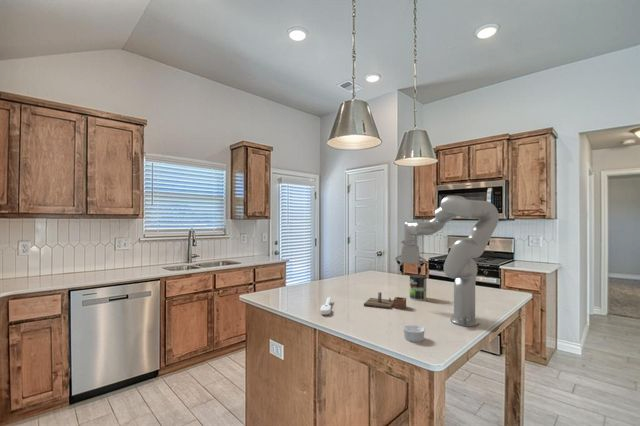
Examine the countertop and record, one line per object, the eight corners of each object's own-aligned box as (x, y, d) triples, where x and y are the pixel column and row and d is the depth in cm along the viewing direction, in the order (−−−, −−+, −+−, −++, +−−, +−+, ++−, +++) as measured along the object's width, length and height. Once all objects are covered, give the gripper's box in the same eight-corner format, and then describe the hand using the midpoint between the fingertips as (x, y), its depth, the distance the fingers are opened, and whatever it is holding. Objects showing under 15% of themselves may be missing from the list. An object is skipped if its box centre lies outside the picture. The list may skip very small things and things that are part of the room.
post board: (390, 309, 177) (390, 297, 178) (363, 306, 183) (363, 294, 183) (395, 302, 191) (395, 291, 191) (370, 299, 197) (370, 288, 197)
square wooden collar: (404, 309, 177) (404, 300, 177) (393, 308, 179) (393, 299, 179) (407, 304, 186) (407, 296, 186) (396, 303, 188) (396, 295, 188)
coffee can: (417, 301, 194) (417, 278, 194) (406, 297, 203) (406, 275, 203) (430, 299, 198) (430, 276, 198) (418, 295, 208) (418, 273, 208)
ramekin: (415, 344, 129) (415, 333, 129) (398, 337, 136) (398, 327, 136) (429, 339, 134) (429, 329, 134) (411, 333, 141) (411, 323, 141)
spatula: (324, 301, 193) (324, 296, 193) (334, 301, 192) (334, 297, 193) (319, 315, 165) (319, 310, 165) (330, 316, 165) (330, 310, 165)
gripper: (394, 243, 184) (393, 272, 184) (425, 244, 177) (425, 275, 177) (396, 242, 191) (396, 270, 191) (427, 243, 183) (426, 273, 183)
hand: (410, 273), depth 184 cm, fingers open, 9 cm apart
